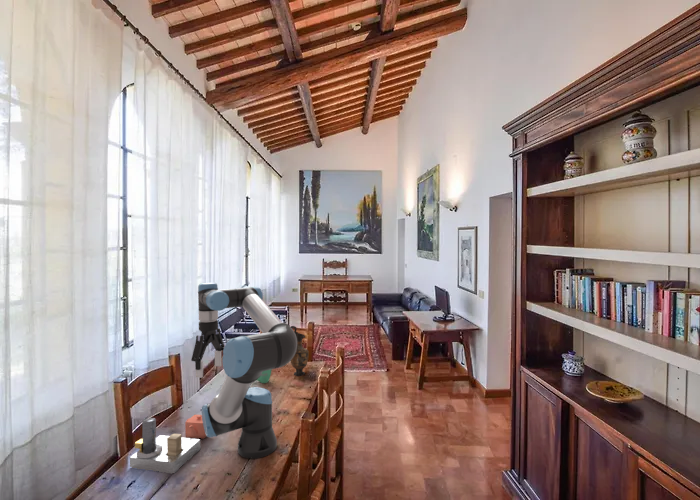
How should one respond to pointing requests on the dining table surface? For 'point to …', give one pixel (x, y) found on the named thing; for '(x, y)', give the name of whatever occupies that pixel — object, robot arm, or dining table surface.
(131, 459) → the white base plate
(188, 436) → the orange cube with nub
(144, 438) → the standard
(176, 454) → the tan wooden block
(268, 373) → the mug
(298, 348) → the vase
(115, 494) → the dining table surface
